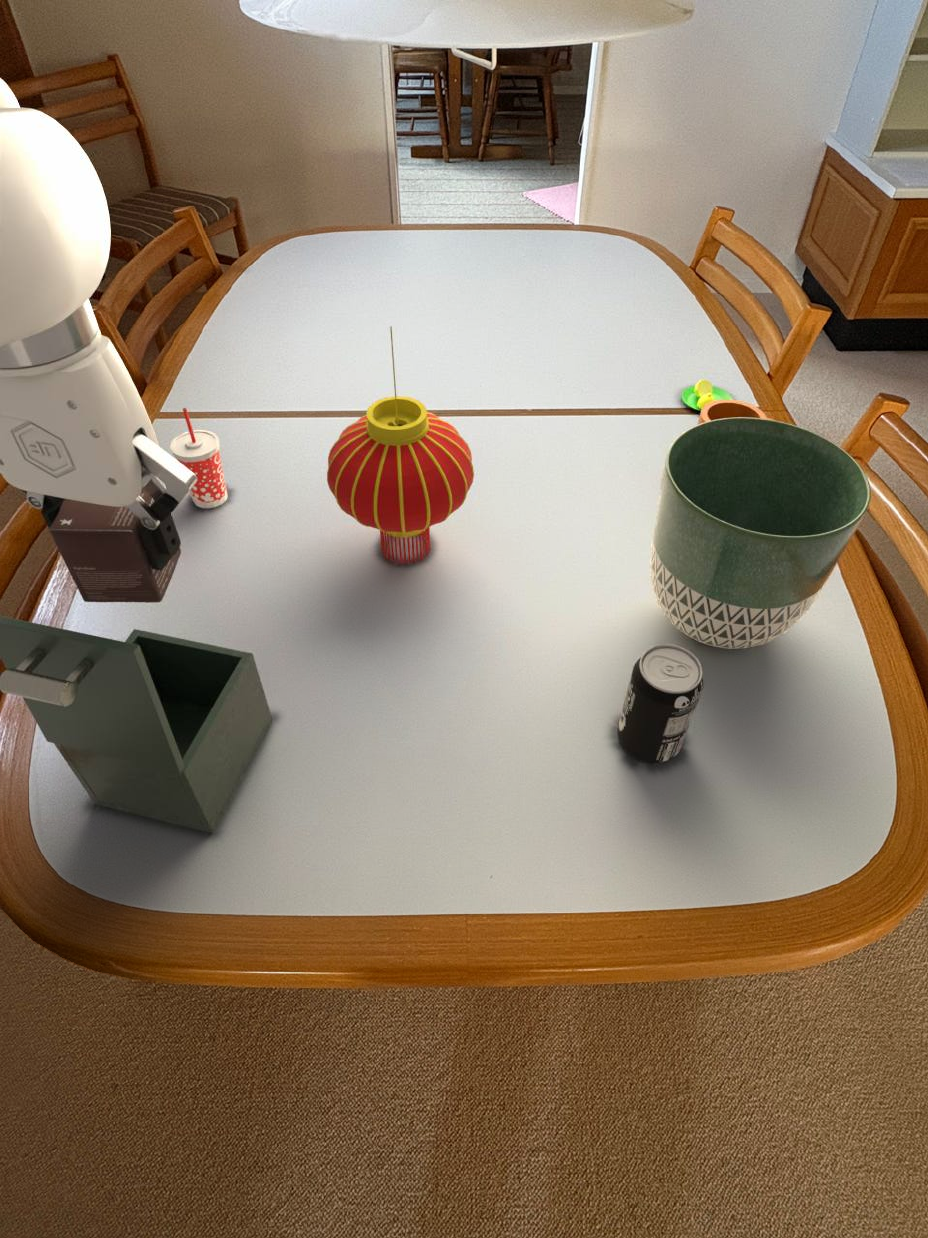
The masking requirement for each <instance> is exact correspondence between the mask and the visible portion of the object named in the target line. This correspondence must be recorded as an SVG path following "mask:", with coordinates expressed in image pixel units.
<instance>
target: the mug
mask: <svg viewBox="0 0 928 1238" xmlns="http://www.w3.org/2000/svg"><path fill="white" fill-rule="evenodd" d="M737 417H747V418H761V419H769V420H774V421H776V420H775V419H774V418H770V417H767V415H766V414H765V412H763V410H761V409H760V408H759V407H757V406H755V405H754V404H751V403H749V402H746V401H742V400H738V399H733V400H731V399H721V400H714V401H712V402H709V403H707V404H706V405H705V406H703V407H702V410H701V411H700V413H699V418H698V422H697V425H699V424H702V423H705V422H708V421H712V420H717V419H724V418H737Z"/></svg>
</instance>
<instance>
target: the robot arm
mask: <svg viewBox="0 0 928 1238" xmlns="http://www.w3.org/2000/svg"><path fill="white" fill-rule="evenodd" d="M106 198H107V197H106V195H105V192H104V188H103V186H102V183H101V180H100V178H99V176H98V174H97V171H96V170H95V167H94V165H93V164H92V162H91V160H90V158H89V156H88V155H87V153H86V152H85V150H84V149H83V148H82V146H81V145H80V144H79V142H78V141H77V140H76V139H75V137H74V136H72V134H71V133H70V132H69V131H68V129H66V128H65V127H64V126H63V125H61V124H60V123H59V122H58V121H57V120H56V119H54V117H51V116H49V115H48V114H46V113H45V112H43V111H41V110H38V109H34V108H30V107H21V106H20V104H19V102H18V99H17V97H16V96H15V94H14V92H13V91H12V89H11V88H10V87H9V85H8V84H7V82H5V80H4V79H2V78H1V77H0V474H1V476H2V478H3V479H4V480H5V481H6V482H7V484H9V485H11V486H12V487H14V488H17V489H19V490H21V491H22V492H24V494H26V501H27V503H28V504H29V505H30V506H31V507H32V508H34V509H37V510H41V511H40V513H41V515H42V518H43V519H44V522H45V524H46V525H47V527H48V529H49V528H50V526H51V525H52V523H53V521H54V520H55V518H56V516H57V515H58V513H59V511H60V507H61V505H62V503H63V501H64V500H65V499H70V500H76V501H82V502H88V503H93V504H99V505H106V506H113V507H124V506H126V507H127V508H128V509H129V510H130V511H131V512H132V513H133V515H134V516H135V517H136V518H137V519H138V520H139V521H140V522H141V525H140V526H139V527H138V534H139V537H140V540H141V542H142V545H143V547H144V550H145V552H146V554H147V557H148V560H149V562H150V564H151V567H152V568H153V569H155V570H160V571H161V570H163V569H164V567H165V566H166V565H167V563H168V562H169V561H170V559H171V558H172V557H173V556H174V555H175V554H176V553H177V551H178V550H179V548H180V549H181V543H182V542H181V537H180V535H179V532H178V529H177V526H176V523H175V521H174V518H173V514H172V513H173V512H174V511H175V510H176V508H177V507H178V506H179V505H180V504H181V502H182V501H183V500H184V499H185V497H186V496H187V494H188V493H190V489H191V488H192V487H193V486H194V484H195V483H196V482H197V477H196V475H195V474H194V473H193V472H191V471H190V470H189V469H187V468H186V467H185V466H184V465H182V464H181V463H180V462H178V461H177V459H176V458H175V457H174V456H173V455H171V454H169V453H168V452H166V451H165V450H164V449H163V448H161V447H160V445H159V441H158V438H157V435H156V432H155V430H154V428H153V425H152V422H151V420H150V417H149V414H148V412H147V410H146V408H145V407H146V406H145V405H144V403H143V400H142V398H141V396H140V393H139V391H138V389H137V387H136V385H135V383H134V381H133V379H132V377H131V375H130V373H129V371H128V369H127V368H126V366H125V364H124V362H123V359H122V358H121V356H120V354H119V353H118V351H117V349H116V348H115V345H114V344H113V343H112V341H111V339H110V338H109V337H108V336H106V335H102V333H101V330H100V327H99V324H98V322H97V318H96V316H95V314H94V311H93V307H92V305H91V303H90V298H91V297H92V296H93V294H94V293H95V291H96V290H97V288H99V286H100V283H101V282H102V279H103V276H104V274H105V272H106V268H107V265H108V261H109V257H110V250H111V234H112V233H111V231H112V230H111V221H110V220H111V219H110V213H109V208H108V202H107V199H106ZM163 483H164V484H163ZM143 488H144V489H145V490H146V491H147V492H148V493H149V495H150V496H151V497H152V498H153V499H154V500H155V501H154V502H153V503H152V504H151V506H150V507H149V506H148V505H147V503H146V502H145V501H144V500H143V499H142V498H141V497H140V494H141V490H142V489H143Z"/></svg>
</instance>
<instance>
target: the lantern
mask: <svg viewBox="0 0 928 1238" xmlns="http://www.w3.org/2000/svg"><path fill="white" fill-rule="evenodd" d="M389 330H390V342H391V357H392V371H393V372H392V374H393V388H394V396H388V397H384V398H381V399H378V400H376V401H375V402H372V404H371V405H370V406H369V407H368V408H367V410H366V414H365V415H363V416H360V418H359V419H357V421H355V422H354V423H352V424H350V425H348V426H347V427H345V429H343V430H342V431H341V433H340V434H339V437H338V439H337V440H336V441H335V442H334V443H333V445H332V447H331V448H330V450H329V453H328V456H327V466H328V467H327V470H326V482H327V486H328V489H329V491H330V492H331V493H332V495H333V496H334V498H335V500H336V501H335V502H336V504H337V505H338V506H339V508H340V509H341V511H343V512H344V513H345V514H346V515H349V516H351V517H352V518H354V520H356V522H358V523H359V524H360V525H362V526H364V527H367V528H373V529H377V530H379V535H380V536H379V537H380V538H379V539H380V547H381V552H382V554H383V557H386V559H388V560H389V561H390V562H391V561H392V563H395V562H396V564H397V565H398V564H399V563H400V565H402V564H403V562H404V565H407V562H408V564H409V565H411V564H416V562H417V563H418V562H419V561H423V559H425V558H426V557H427V556H428V554H429V553H430V551H431V530H430V528H431V527H432V526H435V525H437V524H442V523H443V522H445V521H446V520H447V519H448V518H449V517H450V515H452V514H453V513H454V512H455V511H457V510H459V509H460V508H461V507H462V506H463V504H464V503H465V501H466V498H467V495H468V492H469V490H471V487H472V485H473V483H474V478H475V470H474V465H473V457H472V456H473V455H472V450H471V449H470V446H469V444H468V443H467V442H466V440H465V439H464V438H463V437H462V436H461V435H460V433H459V431H458V430H457V428H456V427H455V426H454V425H453V424H451V423H450V422H448V421H446V420H443V419H441V418H440V417H439V416H437V415H436V414H435V413H432V412H428V410H427V408H426V406H425V404H423V402H421V401H420V400H418V399H415V398H412V397H407V396H401V395H398V396H397V386H396V372H395V358H394V357H395V356H394V341H393V327H392V326H391V325H390V327H389ZM393 538H394V539H393ZM397 538H398V539H397ZM401 538H402V539H401ZM410 538H411V539H410ZM397 540H398V542H397ZM410 540H411V544H410ZM418 540H419V541H418ZM418 542H419V543H418ZM397 543H398V544H397ZM406 544H407V547H406ZM402 547H403V551H402ZM390 548H391V549H390ZM394 551H395V553H394ZM398 552H399V557H398ZM402 552H403V553H402ZM411 554H412V558H411ZM415 555H416V556H415ZM419 555H420V556H419ZM407 557H408V561H407ZM419 558H420V559H419ZM391 559H392V560H391ZM411 560H412V561H411Z"/></svg>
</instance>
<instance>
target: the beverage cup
mask: <svg viewBox="0 0 928 1238" xmlns="http://www.w3.org/2000/svg"><path fill="white" fill-rule="evenodd" d="M182 413H183V415H184V419H185V422H186V425H187V429H188V430H187V431H185V432H182V433H180V434H179V435H177V436H175V437H174V438H173V439H172V441H171V443H170V451H171V452H172V453H171V454H172V456H173V458H174V459H176V460H177V461H178V462H180V463H181V464H182V465H184V466H185V467H186V468H187V469H189V470H190V471H191V472H193V473H194V474H195V475H196V477H197V482H196V483H195V484H194V486H193V487H192V488H191V489H190V491H189V494H190V496H191V499H192V501H193V503H194V505H195V506H197V507H199V508H201V509H214V508H217V507H219V506H221V505H223V504H224V503H225V502H226V501H227V499H228V490H227V485H226V479H225V475H224V469H223V465H222V459H221V454H220V448H221V447H220V439H219V436H218V435H217V434H216V433H214V432H212V431H210V430H206V429H194V428H193V425H192V423H191V419H190V416H189V412H188V409H187V408H186V407H184V408H182ZM193 429H194V430H193Z"/></svg>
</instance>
